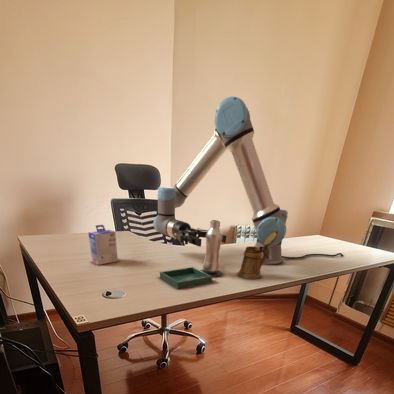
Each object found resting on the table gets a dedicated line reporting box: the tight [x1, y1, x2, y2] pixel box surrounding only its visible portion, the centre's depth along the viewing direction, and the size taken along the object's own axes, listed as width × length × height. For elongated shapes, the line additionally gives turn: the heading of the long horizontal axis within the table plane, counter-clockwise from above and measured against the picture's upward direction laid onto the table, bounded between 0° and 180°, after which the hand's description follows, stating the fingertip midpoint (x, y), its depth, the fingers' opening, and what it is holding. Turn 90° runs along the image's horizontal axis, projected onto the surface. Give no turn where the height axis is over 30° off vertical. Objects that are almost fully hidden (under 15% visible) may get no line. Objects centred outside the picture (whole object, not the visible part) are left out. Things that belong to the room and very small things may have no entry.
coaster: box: [200, 269, 223, 278], centre depth 126 cm, size 9×9×1 cm
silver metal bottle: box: [202, 219, 223, 273], centre depth 120 cm, size 6×7×20 cm
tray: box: [159, 266, 213, 290], centre depth 116 cm, size 16×13×2 cm
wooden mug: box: [238, 231, 278, 280], centre depth 122 cm, size 9×14×18 cm, turn 101°
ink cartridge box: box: [87, 224, 119, 266], centre depth 126 cm, size 10×6×14 cm, turn 137°
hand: (213, 241), depth 119 cm, fingers open, 13 cm apart
